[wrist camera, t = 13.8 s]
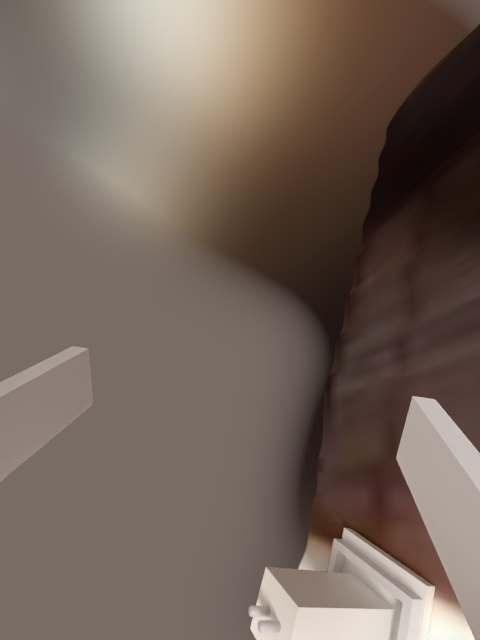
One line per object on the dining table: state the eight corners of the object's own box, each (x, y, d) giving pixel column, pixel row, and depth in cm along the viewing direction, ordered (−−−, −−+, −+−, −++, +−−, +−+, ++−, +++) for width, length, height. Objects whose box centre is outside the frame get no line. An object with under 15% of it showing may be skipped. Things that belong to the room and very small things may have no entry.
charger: (353, 573, 33) (249, 564, 28) (395, 609, 29) (280, 607, 23) (343, 626, 32) (232, 627, 27) (385, 672, 27) (262, 685, 22)
